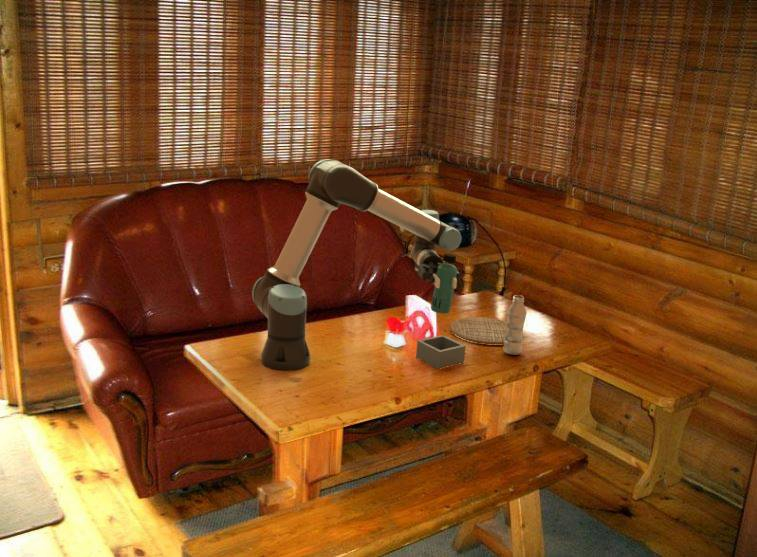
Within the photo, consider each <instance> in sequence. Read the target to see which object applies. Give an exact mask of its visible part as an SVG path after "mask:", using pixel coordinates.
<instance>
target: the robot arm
mask: <svg viewBox="0 0 757 557" xmlns="http://www.w3.org/2000/svg"><path fill="white" fill-rule="evenodd" d="M308 173H309V174H308V182H309V183H308V186H307V188H306V190H305V191H304V193H305V197H306V201H305V203H304V205H303V207H302V210H301V211H300V213H299V215H298V217H297V219H296V221H295V223H294V225H293V228H292V229H291V231H290V234H289V236H288V237H287V240H286V241H285V244H284V246H283V248H282V250H281V252H280V254H279V257H277V260H276V262H275V265H273V266H271V267H269V268H267V269H266V272H265V274H264V276H261V277H259V278H258V279H257V280H256V281H255V283H254V284H253V286H252V290H251V296H252V301H253V302H254V305H255V307H256V309H257V310H259V311H260V312H261V313H262V315H264V316H265V318H267V338H266V341H265V343H264V347H263V349H262V352H261V362H260V363H262V365H264V366H265V367H267V368H269V367H270V368H269V369H272V368H273V369H274V370H277V369H278V370H279V371H294V370H295V371H296V370H300V369H303V368H305V367H308V366H309V364H310V362H311V353H310V350H309V347H308V342H307V340H306V327H307V326H306V325H307V308H308V300H307V293H306V291H305V290H304V289H303V288H301V287H300V286H301V283H300V278H299V277H300V276H301V273H302V272H303V269H304V267H305V265H306V264H307V262H308V259H309V257H310V255H311V253H312V251H313V249H314V248H315V245H316V244H317V241H318V239H319V237H320V235H321V233H322V231H323V229H324V227H325V226H326V223H327V221H328V219H329V217H330V215H331V213H332V212H333V211H336V210H338V209H339V208H340V206H341V205H346V206H349V207H351V208H354V209H357V210H359V211H360V212H363V213H364V212H367V211H368V212H369V213H371V214H374V215H376V216H377V217H380V218H382V219H384V220H386V221H387V222H390V223H391V224H394V225H396V226H398V227H399V228H402V229H404V230H406V231H408V232H410V233H412V234H414V235H415V237H414V245H413V246H412V248H411V256H412V259H413V261H414V263H415V265H414V273H416V274H417V275H418V276H419V277H420V279H421V280H422V281H423V282H424V281H427V282H428V284H433V285H434V287H435V286H436V288H439V287H440V279H439V278H438V276H437V271H438V266H439V265H441V264H442V263H444V261H443V258H441V256H440V255H439V254H438V253H437V246H438V247H439V248H441V249H443V250H446V251H454V250H456V249H458V248H459V247H460V246H461V245H460V244H461V243H462V235H461V233H460V231H459V230H458V228H457V229H456V228H455V227H454V226H452V225H448V224H447V223H446V222H445V223H444V222H443V221H442V220H440V214H439V212H438V211H436V210H431V209H421V210H420V209H418V208H416V207H415V206H412V205H411V204H408V203H407V202H405V201H403V200H401V199H399V198H397V197H395V196H393V195H392V194H389V193H388V192H386V191H384V190H382V189H380V188H379V186H378V184H377V183H376V182H374V181H372V180H370V179H369V178H367V177H366V176H364V175H363V174H362V173H360V171H358V170H356V169H355V168H353V167H351V166H350V165H347V164H344V163H342V162H341V161H339V160H337V159H331V158H330V159H329V158H325V159H321V160H318V161H317V162H316V163H314V165H312V167H311V169H310V170H309V172H308ZM460 274H461V273H460V272H459V271H457V275H456V278H455V277H453V278H452V287H453V288H454V290H455V289H457V284H458V282H460Z"/></svg>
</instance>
